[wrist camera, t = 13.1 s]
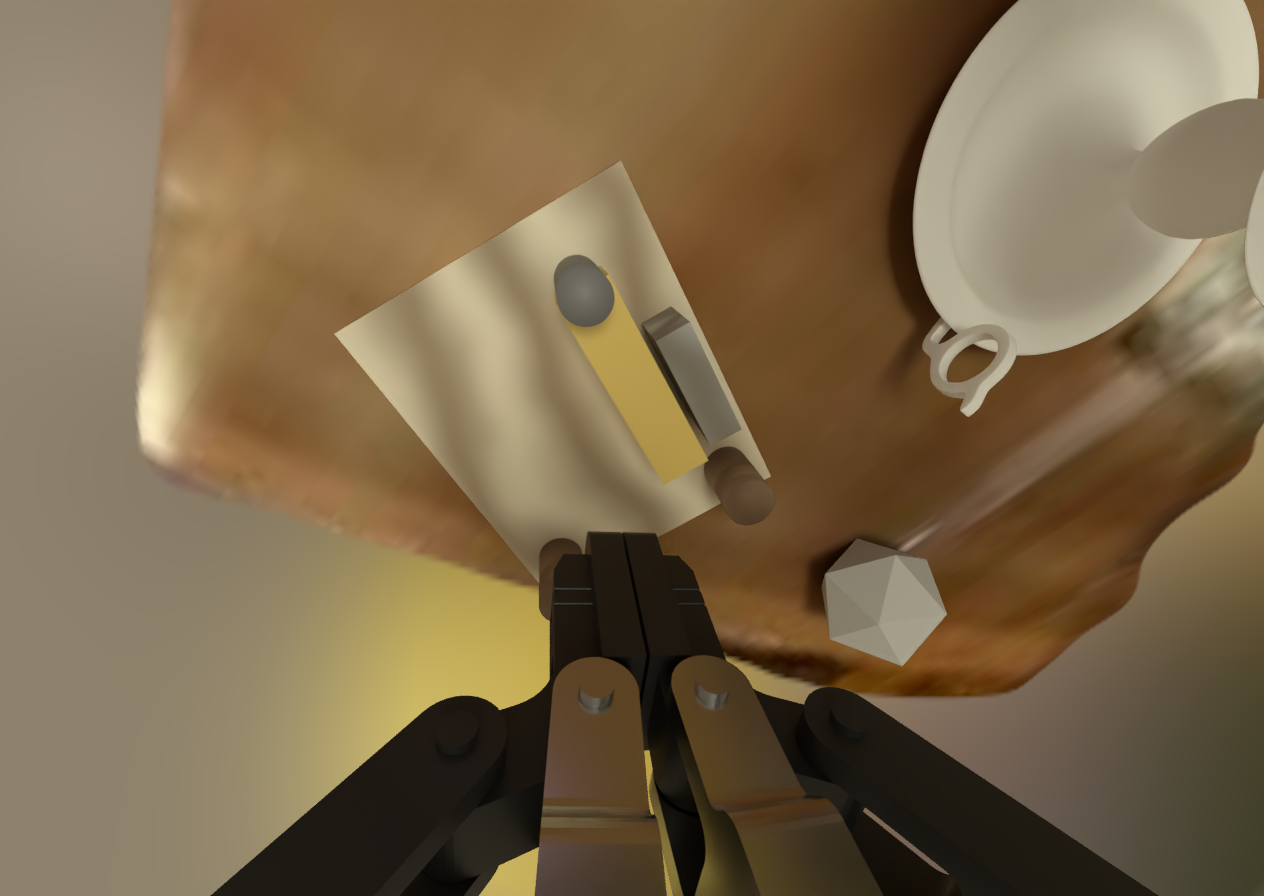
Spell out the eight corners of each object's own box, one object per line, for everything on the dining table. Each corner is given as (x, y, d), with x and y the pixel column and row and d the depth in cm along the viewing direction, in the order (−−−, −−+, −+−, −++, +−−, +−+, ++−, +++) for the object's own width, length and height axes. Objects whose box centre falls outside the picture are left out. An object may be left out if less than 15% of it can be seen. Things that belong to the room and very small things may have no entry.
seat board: (617, 162, 29) (636, 153, 24) (763, 466, 39) (801, 513, 33) (343, 328, 31) (297, 358, 25) (549, 582, 40) (550, 647, 35)
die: (851, 617, 48) (973, 649, 40) (794, 652, 42) (922, 696, 35) (845, 526, 47) (968, 541, 40) (786, 550, 42) (915, 572, 34)
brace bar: (541, 271, 30) (542, 289, 24) (588, 243, 29) (600, 254, 24) (651, 456, 35) (672, 505, 30) (691, 433, 35) (720, 479, 30)
